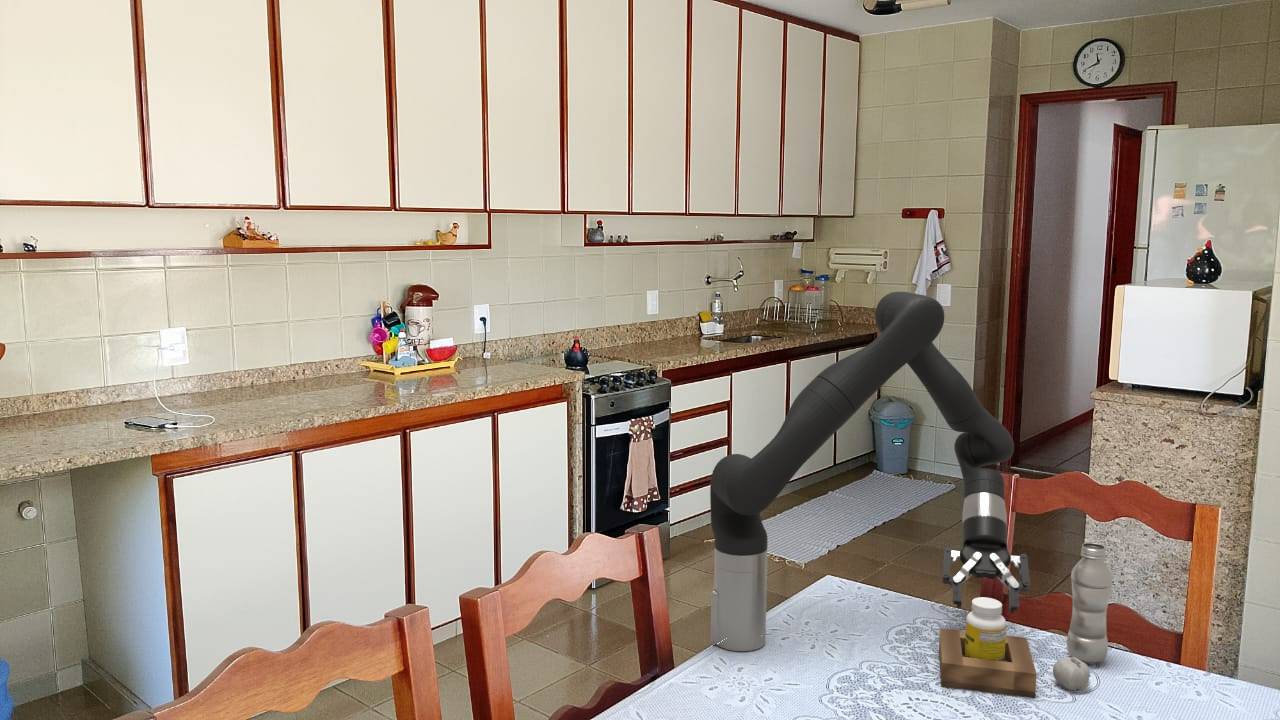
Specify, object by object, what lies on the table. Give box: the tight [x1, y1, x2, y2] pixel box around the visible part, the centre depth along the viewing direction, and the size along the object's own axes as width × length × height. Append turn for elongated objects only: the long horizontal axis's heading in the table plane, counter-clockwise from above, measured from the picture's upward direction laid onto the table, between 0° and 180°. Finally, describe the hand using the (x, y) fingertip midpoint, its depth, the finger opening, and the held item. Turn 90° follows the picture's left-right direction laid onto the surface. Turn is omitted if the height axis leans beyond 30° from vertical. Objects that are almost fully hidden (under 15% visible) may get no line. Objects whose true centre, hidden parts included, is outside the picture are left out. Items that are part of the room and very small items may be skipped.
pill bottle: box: [965, 596, 1007, 662], centre depth 157 cm, size 6×6×11 cm
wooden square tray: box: [938, 627, 1037, 699], centre depth 157 cm, size 14×14×4 cm
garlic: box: [1052, 656, 1091, 691], centre depth 153 cm, size 6×5×5 cm
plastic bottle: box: [1065, 542, 1113, 665], centre depth 161 cm, size 6×7×20 cm
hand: (985, 608), depth 162 cm, fingers open, 8 cm apart
